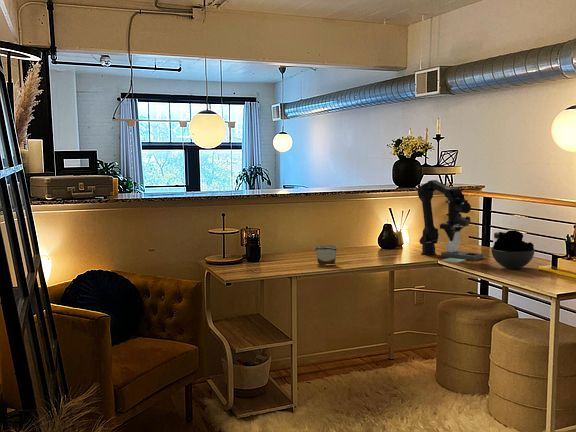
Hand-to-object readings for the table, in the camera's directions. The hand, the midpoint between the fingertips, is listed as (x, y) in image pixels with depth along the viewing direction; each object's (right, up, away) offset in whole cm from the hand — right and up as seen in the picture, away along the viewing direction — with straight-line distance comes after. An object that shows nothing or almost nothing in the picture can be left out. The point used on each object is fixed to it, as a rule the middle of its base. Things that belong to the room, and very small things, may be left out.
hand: (453, 240), depth 303 cm
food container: (-67, -13, +2) cm, 69 cm away
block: (+3, -10, +13) cm, 16 cm away
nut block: (0, -3, 0) cm, 3 cm away
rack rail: (+7, -10, +9) cm, 15 cm away
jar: (+31, -9, +15) cm, 36 cm away
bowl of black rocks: (+22, -13, -24) cm, 35 cm away
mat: (0, -11, +1) cm, 11 cm away
